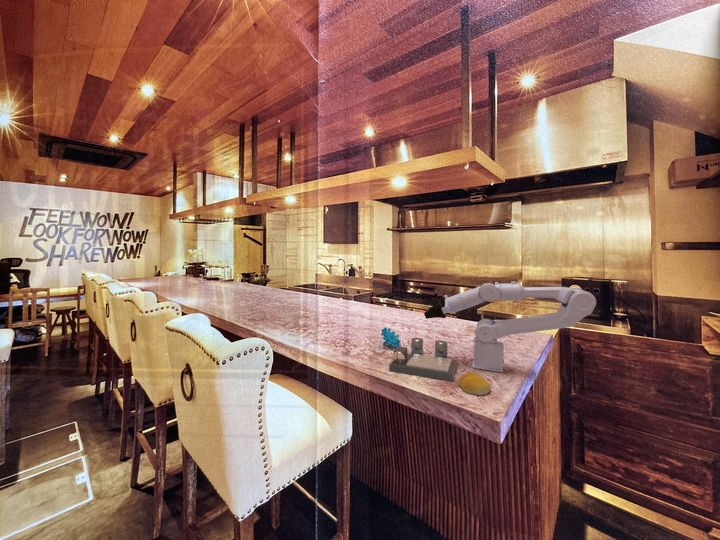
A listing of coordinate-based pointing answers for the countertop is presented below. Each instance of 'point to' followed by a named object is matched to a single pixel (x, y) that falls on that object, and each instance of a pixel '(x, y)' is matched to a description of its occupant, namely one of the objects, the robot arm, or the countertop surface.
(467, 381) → the bread roll
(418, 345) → the cylinder
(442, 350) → the cylinder
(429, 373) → the grey fixture base
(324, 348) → the countertop surface
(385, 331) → the gear
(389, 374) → the countertop surface
